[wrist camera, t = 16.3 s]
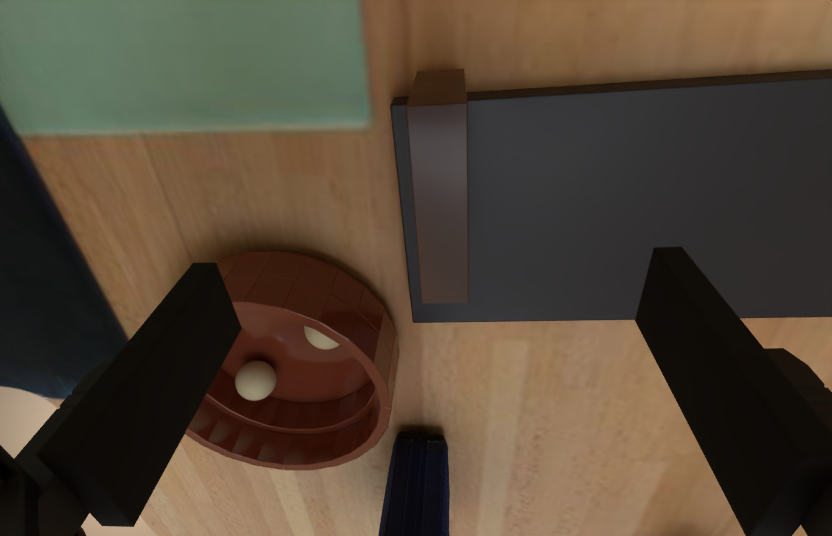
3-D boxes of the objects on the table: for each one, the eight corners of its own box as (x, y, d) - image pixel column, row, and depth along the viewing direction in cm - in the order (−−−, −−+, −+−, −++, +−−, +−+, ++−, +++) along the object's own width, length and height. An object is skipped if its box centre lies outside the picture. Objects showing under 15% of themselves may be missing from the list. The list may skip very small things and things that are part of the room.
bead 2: (305, 318, 31) (295, 351, 29) (315, 291, 29) (305, 323, 27) (344, 330, 32) (337, 362, 29) (356, 304, 30) (350, 336, 28)
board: (414, 308, 31) (413, 323, 30) (393, 96, 23) (389, 104, 22) (1004, 298, 28) (1030, 314, 26) (1214, 44, 20) (1264, 50, 18)
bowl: (175, 363, 36) (131, 428, 31) (207, 205, 28) (153, 260, 23) (357, 424, 39) (343, 492, 34) (435, 297, 30) (432, 363, 25)
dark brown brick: (427, 238, 26) (421, 304, 21) (416, 71, 21) (405, 106, 16) (466, 237, 26) (469, 303, 21) (464, 68, 21) (467, 102, 16)
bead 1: (230, 387, 33) (230, 404, 31) (240, 352, 33) (242, 366, 31) (268, 392, 35) (271, 409, 32) (278, 358, 34) (283, 372, 32)
